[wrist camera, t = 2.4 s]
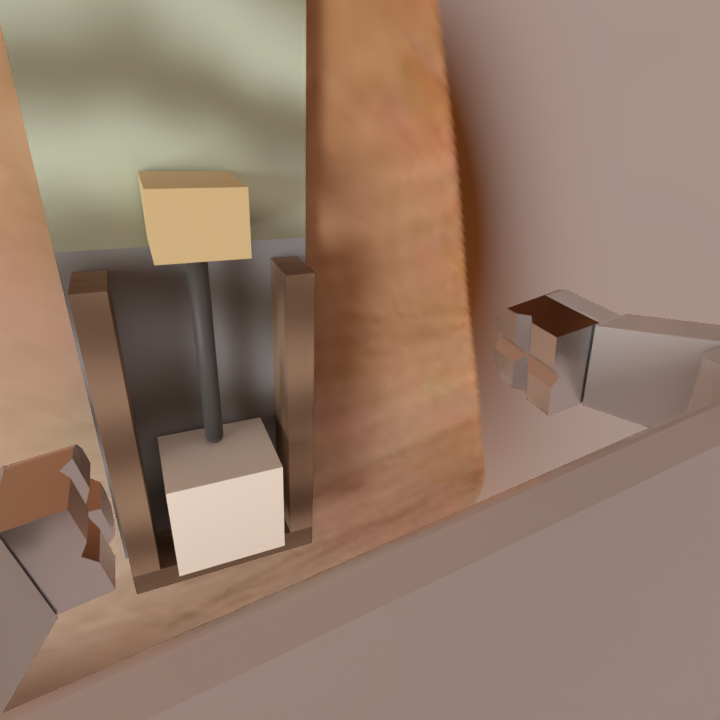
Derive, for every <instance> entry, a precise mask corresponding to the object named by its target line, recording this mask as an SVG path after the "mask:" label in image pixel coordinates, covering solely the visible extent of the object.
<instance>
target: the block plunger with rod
mask: <svg viewBox="0 0 720 720" xmlns="http://www.w3.org/2000/svg"><path fill="white" fill-rule="evenodd" d="M137 172H138V179H139V186H140V193H141V200H142V206H143V213H144V220H145V227H146V234H147V239H148V243H149V247H150V251H151V255H152V258H153V262H154V265H167V264H181V263H186V268H187V277H188V286H189V295H190V304H191V313H192V322H193V331H194V340H195V349H196V358H197V367H198V376H199V385H200V394H201V402H202V411H203V420H204V428H202V429H196V430H191V431H186V432H181V433H175V434H170V435H165V436H160V437H157V439H158V445H159V452H160V459H161V466H162V473H163V479H164V486H165V493H166V499H167V505H168V511H169V517H170V523H171V529H172V535H173V541H174V547H175V553H176V559H177V564H178V570H179V576H183V575H186V574H189V573H193V572H196V571H200V570H203V569H206V568H210V567H213V566H217V565H220V564H224V563H227V562H230V561H234V560H237V559H241V558H244V557H247V556H251V555H254V554H258V553H261V552H264V551H268V550H271V549H275V548H278V547H282V546H285V536H284V495H283V466H282V464H281V462H280V460H279V458H278V455H277V453H276V451H275V449H274V446H273V444H272V442H271V440H270V438H269V435H268V433H267V431H266V429H265V427H264V424H263V422H262V420H261V418H260V417H259V418H254V419H248V420H243V421H238V422H233V423H228V424H222V413H221V402H220V391H219V380H218V369H217V358H216V347H215V336H214V325H213V314H212V303H211V292H210V281H209V270H208V262H209V261H222V260H236V259H250V258H252V253H251V232H250V212H249V192H248V186H246V185H245V184H244V183H242V182H241V181H240V180H239V179H237V178H236V177H235V176H234V175H232V174H231V173H230V172H229V171H137Z"/></svg>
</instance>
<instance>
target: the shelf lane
mask: <svg viewBox="0 0 720 720" xmlns="http://www.w3.org/2000/svg"><path fill="white" fill-rule="evenodd" d="M0 24H1V28H2V32H3V37H4V41H5V45H6V49H7V54H8V58H9V62H10V66H11V71H12V75H13V79H14V84H15V88H16V92H17V96H18V101H19V105H20V109H21V113H22V118H23V122H24V126H25V130H26V135H27V139H28V143H29V147H30V152H31V156H32V160H33V164H34V169H35V173H36V177H37V181H38V186H39V190H40V194H41V198H42V203H43V207H44V211H45V216H46V220H47V224H48V228H49V233H50V237H51V241H52V245H53V250H54V254H55V258H56V262H57V267H58V271H59V275H60V279H61V284H62V288H63V292H64V296H65V301H66V305H67V309H68V313H69V318H70V322H71V326H72V330H73V335H74V339H75V343H76V347H77V352H78V356H79V360H80V365H81V369H82V373H83V377H84V382H85V386H86V390H87V394H88V399H89V403H90V407H91V411H92V416H93V420H94V424H95V428H96V433H97V437H98V441H99V445H100V450H101V454H102V458H103V462H104V467H105V471H106V475H107V479H108V484H109V488H110V492H111V497H112V501H113V505H114V509H115V514H116V518H117V522H118V526H119V531H120V535H121V539H122V543H123V548H124V552H125V556H126V559H127V558H129V562H130V566H131V571H132V575H133V579H134V584H135V588H136V592H137V594H140V593H143V592H147V591H150V590H154V589H157V588H160V587H164V586H167V585H170V584H174V583H177V582H181V581H184V580H187V579H191V578H194V577H197V576H201V575H204V574H207V573H211V572H214V571H218V570H221V569H224V568H228V567H231V566H234V565H238V564H241V563H245V562H248V561H251V560H255V559H258V558H261V557H265V556H268V555H271V554H275V553H278V552H282V551H285V550H288V549H292V548H295V547H298V546H302V545H305V544H308V543H312V505H313V414H314V324H315V273H314V272H313V271H312V270H311V269H310V268H309V267H308V266H307V265H306V0H0ZM137 171H229V172H230V173H231V174H232V175H234V176H235V177H236V178H237V179H239V180H240V181H241V182H242V183H244V184H245V185H246V186H248V192H249V212H250V232H251V253H252V258H250V259H236V260H222V261H209V262H208V270H209V281H210V292H211V303H212V314H213V325H214V336H215V347H216V358H217V369H218V380H219V391H220V402H221V413H222V424H228V423H233V422H238V421H243V420H248V419H254V418H259V417H260V418H261V420H262V422H263V424H264V427H265V429H266V431H267V433H268V435H269V438H270V440H271V442H272V444H273V446H274V449H275V451H276V453H277V455H278V458H279V460H280V462H281V464H282V466H283V495H284V536H285V546H282V547H278V548H275V549H271V550H268V551H264V552H261V553H258V554H254V555H251V556H247V557H244V558H241V559H237V560H234V561H230V562H227V563H224V564H220V565H217V566H213V567H210V568H206V569H203V570H200V571H196V572H193V573H189V574H186V575H183V576H179V570H178V564H177V559H176V553H175V547H174V541H173V535H172V529H171V523H170V517H169V511H168V505H167V499H166V493H165V486H164V479H163V473H162V466H161V459H160V452H159V445H158V439H157V437H160V436H165V435H170V434H175V433H181V432H186V431H191V430H196V429H202V428H204V420H203V411H202V402H201V394H200V385H199V376H198V367H197V358H196V349H195V340H194V331H193V322H192V313H191V304H190V295H189V286H188V277H187V268H186V263H181V264H167V265H154V262H153V258H152V255H151V251H150V247H149V243H148V239H147V234H146V227H145V220H144V213H143V206H142V200H141V193H140V186H139V179H138V172H137Z"/></svg>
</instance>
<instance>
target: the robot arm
mask: <svg viewBox="0 0 720 720" xmlns="http://www.w3.org/2000/svg"><path fill="white" fill-rule="evenodd" d="M495 330H496V331H497V332H498V333H499V335H500V336H501V337H500V339H499V341H498V343H497V344H496V346H495V348H494V358H495V359H494V362H495V364H496V367H497V370H498V373H499V375H500V376H501V377H502V379H503V380H504V381H505V382H506V383H507V384H508V385H510V386H511V387H513V388H516V389H521V390H524V391H525V394H526V399H527V400H529V401H530V402H531V403H532V404H534V405H535V406H536V407H538V408H539V409H540V410H541V411H543V412H544V413H545V414H547V415H551V414H554V413H557V412H559V411H562V410H565V409H567V408H570V407H573V406H576V405H578V404H581V403H583V405H584V406H587V407H590V408H593V409H596V410H599V411H602V412H605V413H608V414H611V415H613V416H616V417H619V418H622V419H625V420H628V421H631V422H634V423H637V424H640V425H642V426H645V427H648V429H646V430H643V431H641V432H639V433H636V434H634V435H632V436H630V437H627V438H625V439H623V440H621V441H618V442H616V443H613V444H611V445H609V446H607V447H604V448H602V449H600V450H597V451H595V452H593V453H591V454H588V455H586V456H584V457H581V458H579V459H577V460H575V461H573V462H570V463H568V464H565V465H563V466H561V467H559V468H557V469H554V470H552V471H550V472H547V473H545V474H543V475H540V476H538V477H536V478H534V479H531V480H529V481H527V482H524V483H522V484H520V485H518V486H516V487H513V488H511V489H508V490H506V491H504V492H502V493H499V494H497V495H495V496H493V497H490V498H488V499H486V500H484V501H481V502H479V503H477V504H475V505H472V506H470V507H468V508H466V509H463V510H461V511H459V512H456V513H454V514H452V515H450V516H447V517H445V518H443V519H441V520H438V521H436V522H434V523H432V524H429V525H427V526H425V527H423V528H420V529H418V530H416V531H414V532H411V533H409V534H407V535H404V536H402V537H400V538H398V539H395V540H393V541H391V542H389V543H386V544H384V545H382V546H380V547H377V548H375V549H373V550H371V551H368V552H366V553H364V554H361V555H359V556H357V557H355V558H352V559H350V560H348V561H346V562H343V563H341V564H339V565H337V566H334V567H332V568H330V569H328V570H325V571H323V572H321V573H318V574H316V575H314V576H312V577H309V578H307V579H305V580H303V581H300V582H298V583H296V584H294V585H291V586H289V587H287V588H284V589H282V590H280V591H278V592H275V593H273V594H271V595H269V596H266V597H264V598H262V599H260V600H257V601H255V602H253V603H250V604H248V605H246V606H244V607H241V608H239V609H237V610H235V611H232V612H230V613H228V614H226V615H223V616H221V617H219V618H216V619H214V620H212V621H210V622H207V623H205V624H203V625H201V626H198V627H196V628H194V629H192V630H189V631H187V632H185V633H182V634H180V635H178V636H176V637H173V638H171V639H169V640H167V641H164V642H162V643H160V644H158V645H155V646H153V647H151V648H148V649H146V650H144V651H142V652H139V653H137V654H135V655H133V656H130V657H128V658H126V659H124V660H121V661H119V662H117V663H114V664H112V665H110V666H108V667H105V668H103V669H101V670H99V671H96V672H94V673H92V674H90V675H87V676H85V677H83V678H80V679H78V680H76V681H74V682H71V683H69V684H67V685H65V686H62V687H60V688H58V689H56V690H53V691H51V692H49V693H46V694H44V695H42V696H40V697H37V698H35V699H33V700H31V701H28V702H26V703H24V704H22V705H19V706H17V707H15V708H12V709H10V710H8V711H6V712H3V711H4V710H5V708H6V706H7V704H8V703H9V701H10V699H11V698H12V696H13V694H14V692H15V691H16V689H17V687H18V685H19V684H20V682H21V680H22V679H23V677H24V675H25V673H26V672H27V670H28V668H29V666H30V665H31V663H32V661H33V660H34V658H35V656H36V654H37V653H38V651H39V649H40V647H41V646H42V644H43V642H44V640H45V639H46V637H47V635H48V634H49V632H50V630H51V628H52V627H53V625H54V623H55V621H56V620H57V618H58V617H57V616H56V615H57V614H60V613H62V612H64V611H67V610H69V609H71V608H74V607H76V606H78V605H81V604H83V603H85V602H88V601H90V600H92V599H95V598H97V597H99V596H102V595H104V594H106V593H109V592H111V591H113V590H115V555H114V553H113V552H112V550H111V548H110V546H109V543H110V542H111V540H112V539H113V538H114V536H115V527H114V518H113V514H112V509H111V505H110V502H109V500H108V497H107V494H106V492H105V490H104V488H103V486H102V484H101V483H100V482H98V481H95V480H93V479H91V478H90V462H89V460H88V458H87V456H86V455H85V453H84V451H83V449H82V448H81V447H79V446H78V445H73V446H70V447H66V448H63V449H60V450H56V451H53V452H50V453H46V454H43V455H39V456H36V457H33V458H29V459H26V460H23V461H19V462H16V463H13V464H10V465H9V466H2V467H0V720H720V325H715V324H706V323H698V322H690V321H682V320H673V319H665V318H657V317H649V316H640V315H632V314H625V315H622V316H621V315H618V314H616V313H614V312H612V311H610V310H608V309H606V308H604V307H602V306H600V305H597V304H595V303H593V302H591V301H589V300H587V299H585V298H583V297H581V296H579V295H576V294H574V293H572V292H570V291H568V290H556V291H553V292H551V293H548V294H545V295H542V296H540V297H537V298H535V299H532V300H529V301H526V302H523V303H520V304H517V305H514V306H512V307H509V308H506V309H503V310H500V311H499V312H498V315H497V317H496V325H495Z"/></svg>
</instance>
